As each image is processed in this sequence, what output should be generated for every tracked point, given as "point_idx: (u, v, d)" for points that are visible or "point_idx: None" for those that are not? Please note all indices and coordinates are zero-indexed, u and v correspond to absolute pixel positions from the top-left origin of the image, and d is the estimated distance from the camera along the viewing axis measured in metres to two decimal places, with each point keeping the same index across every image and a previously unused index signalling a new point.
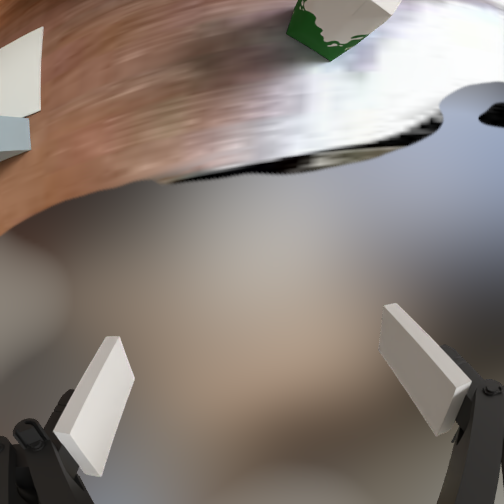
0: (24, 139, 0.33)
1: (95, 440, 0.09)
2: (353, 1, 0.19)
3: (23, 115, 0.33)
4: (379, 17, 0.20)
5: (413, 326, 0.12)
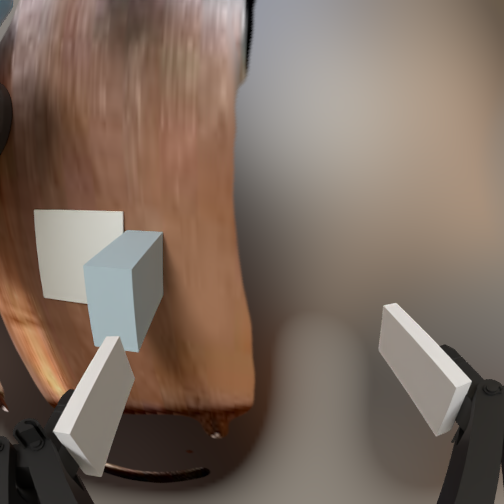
0: (148, 234, 0.38)
1: (95, 440, 0.09)
2: None
3: None
4: None
5: (413, 326, 0.12)
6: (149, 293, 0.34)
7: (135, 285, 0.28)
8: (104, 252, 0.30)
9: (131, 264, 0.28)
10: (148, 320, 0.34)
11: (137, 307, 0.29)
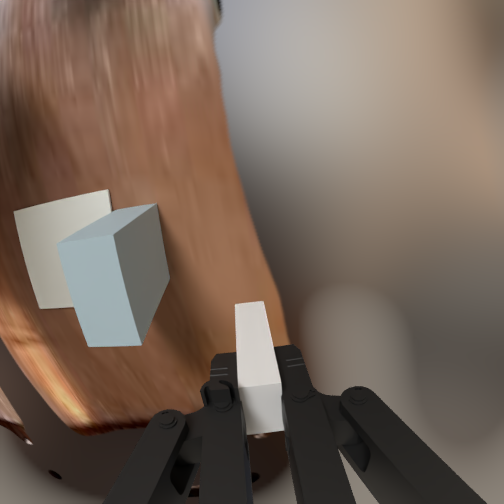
0: (139, 207, 0.32)
1: None
2: None
3: None
4: None
5: (261, 323, 0.14)
6: (148, 272, 0.27)
7: (123, 256, 0.22)
8: (85, 229, 0.24)
9: (114, 230, 0.21)
10: (152, 306, 0.27)
11: (130, 286, 0.22)
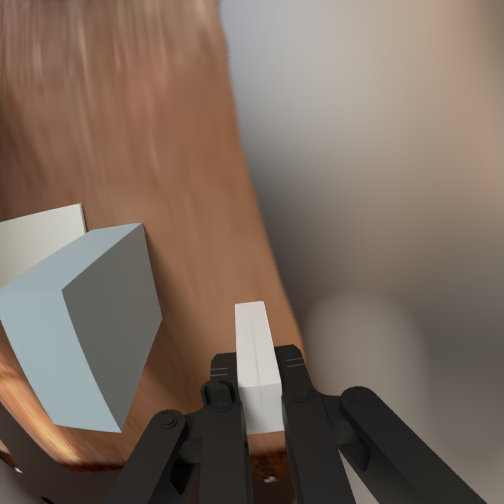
0: (119, 228, 0.23)
1: None
2: None
3: None
4: None
5: (261, 323, 0.14)
6: (128, 324, 0.19)
7: (83, 318, 0.13)
8: (37, 267, 0.15)
9: (66, 279, 0.13)
10: (135, 369, 0.19)
11: (98, 358, 0.14)
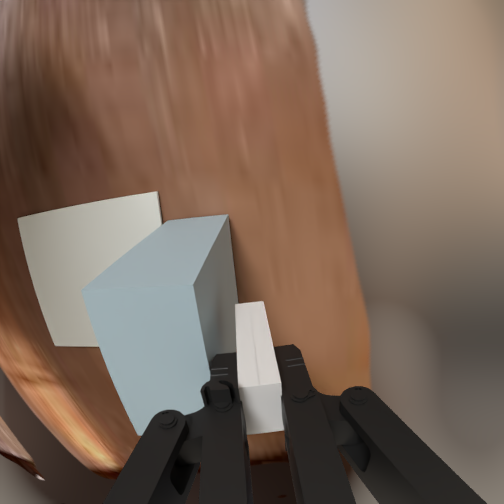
0: (205, 220, 0.23)
1: None
2: None
3: None
4: None
5: (261, 323, 0.14)
6: (226, 322, 0.19)
7: (205, 316, 0.13)
8: (128, 257, 0.15)
9: (189, 272, 0.13)
10: None
11: None
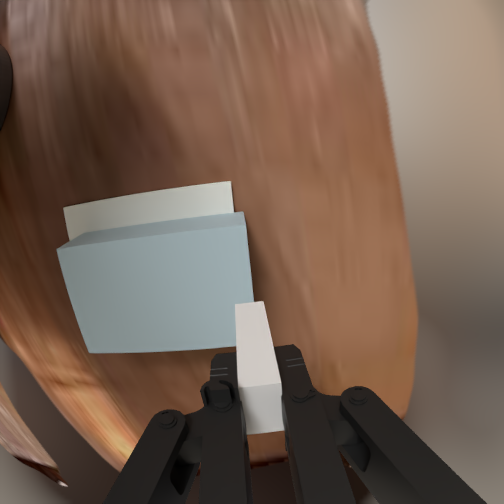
0: (222, 222, 0.21)
1: None
2: None
3: None
4: None
5: (261, 323, 0.14)
6: (145, 308, 0.21)
7: (74, 273, 0.20)
8: (123, 228, 0.24)
9: (72, 245, 0.20)
10: (140, 342, 0.22)
11: (83, 302, 0.21)
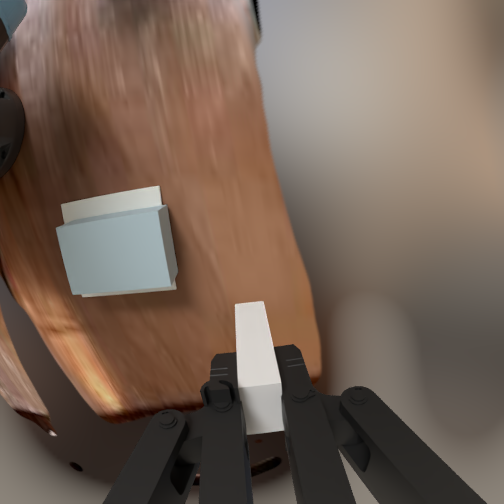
0: (148, 210, 0.35)
1: None
2: None
3: None
4: None
5: (261, 323, 0.14)
6: (105, 262, 0.35)
7: (66, 242, 0.34)
8: (96, 216, 0.37)
9: (65, 225, 0.33)
10: (102, 285, 0.35)
11: (70, 260, 0.34)
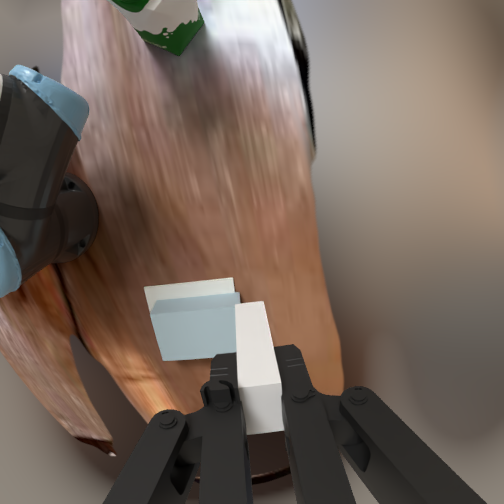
0: (229, 302, 0.47)
1: None
2: None
3: None
4: None
5: (261, 323, 0.14)
6: (195, 339, 0.47)
7: (159, 324, 0.46)
8: (179, 299, 0.50)
9: (158, 312, 0.46)
10: (191, 354, 0.48)
11: (163, 337, 0.47)
